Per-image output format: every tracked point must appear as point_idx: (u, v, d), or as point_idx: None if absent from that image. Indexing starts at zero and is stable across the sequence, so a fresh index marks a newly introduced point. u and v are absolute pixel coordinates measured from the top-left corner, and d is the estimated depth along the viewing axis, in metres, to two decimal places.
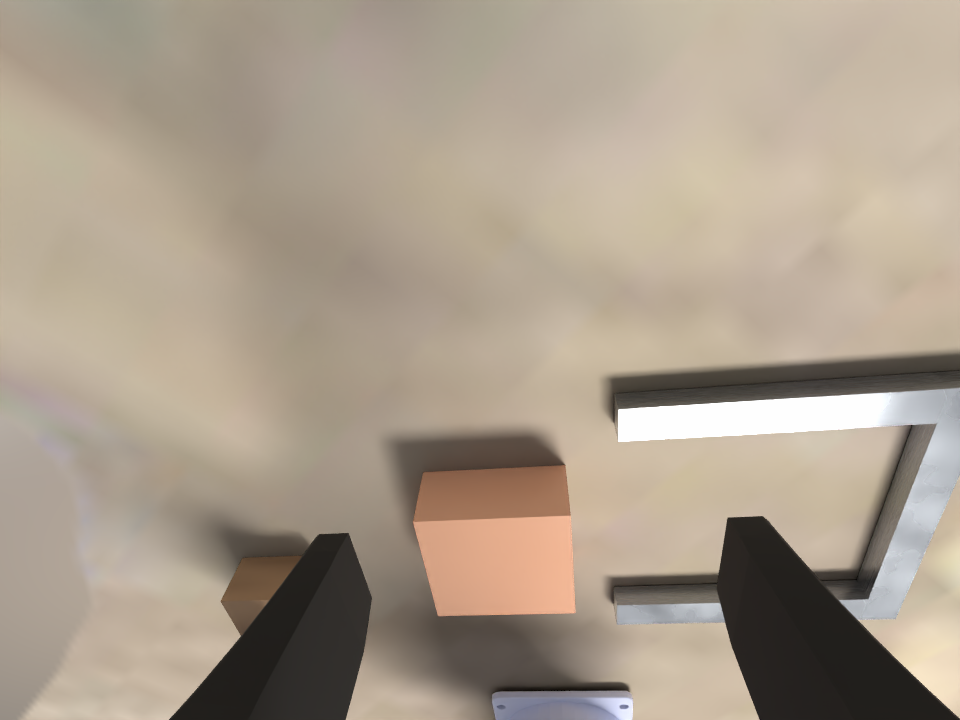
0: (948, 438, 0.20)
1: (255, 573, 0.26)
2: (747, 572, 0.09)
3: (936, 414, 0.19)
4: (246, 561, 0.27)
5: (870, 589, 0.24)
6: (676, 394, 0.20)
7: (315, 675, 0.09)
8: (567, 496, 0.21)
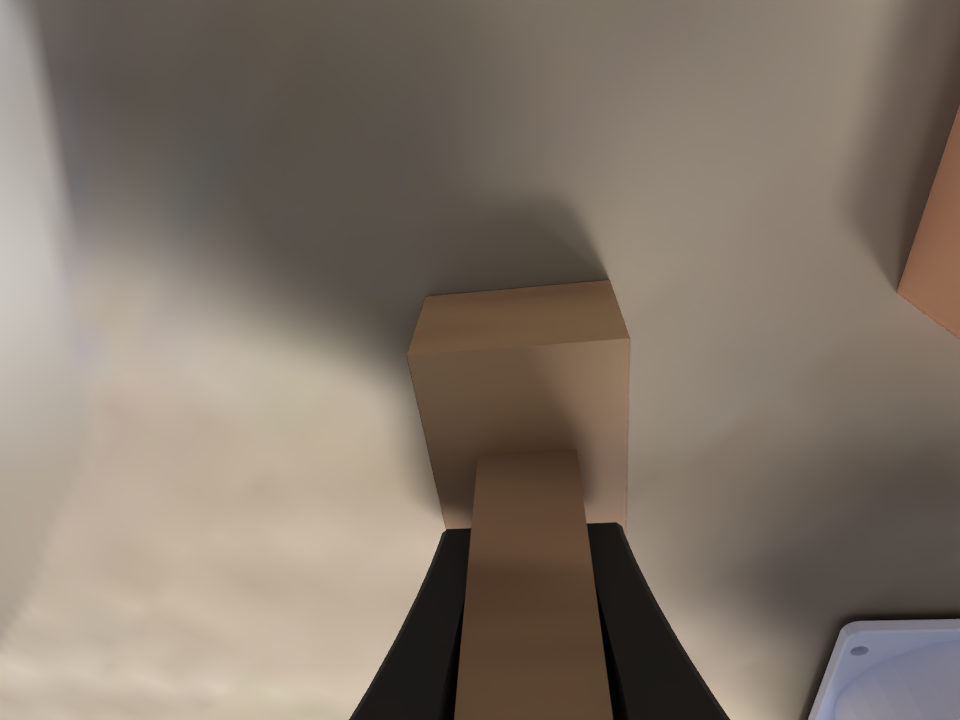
0: None
1: (469, 314, 0.11)
2: None
3: None
4: (437, 301, 0.12)
5: None
6: None
7: None
8: None
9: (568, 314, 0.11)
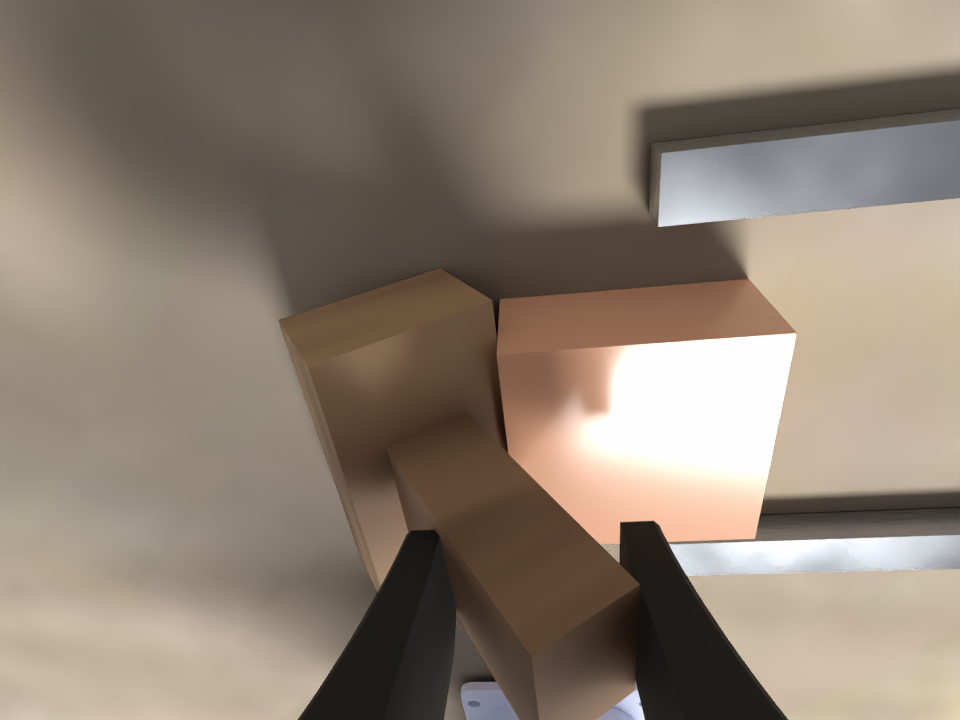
0: None
1: (339, 321, 0.12)
2: None
3: None
4: (296, 320, 0.12)
5: None
6: (765, 133, 0.11)
7: (425, 674, 0.09)
8: (775, 311, 0.12)
9: (429, 298, 0.12)
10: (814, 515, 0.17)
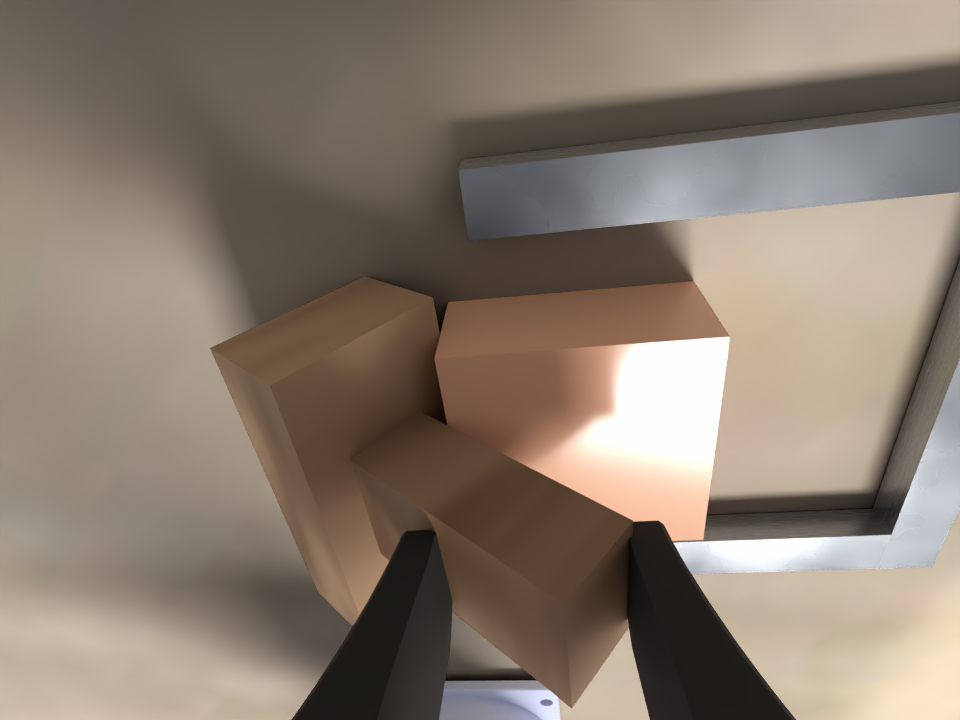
0: None
1: (281, 338, 0.11)
2: (635, 575, 0.09)
3: None
4: (231, 345, 0.11)
5: (895, 518, 0.16)
6: (565, 150, 0.12)
7: (419, 674, 0.09)
8: (713, 314, 0.12)
9: (368, 304, 0.12)
10: None
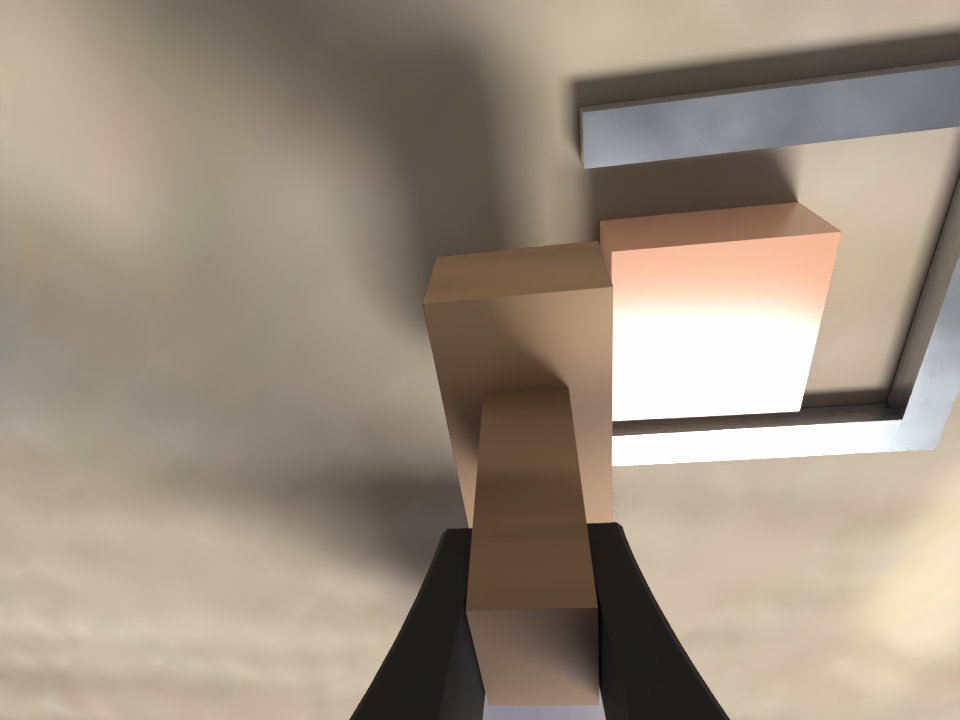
0: None
1: (476, 270, 0.13)
2: None
3: None
4: (447, 260, 0.14)
5: (905, 405, 0.20)
6: (660, 98, 0.15)
7: (468, 673, 0.09)
8: (823, 220, 0.16)
9: (561, 269, 0.12)
10: None
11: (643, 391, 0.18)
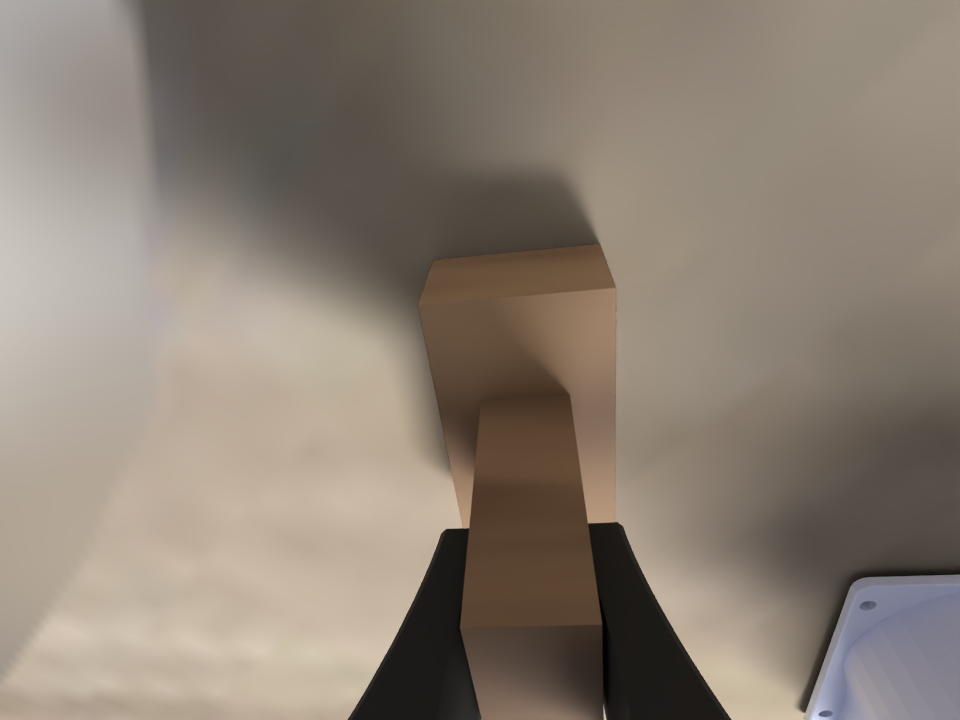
0: None
1: (473, 273, 0.12)
2: None
3: None
4: (444, 263, 0.13)
5: None
6: None
7: (466, 673, 0.09)
8: None
9: (562, 270, 0.12)
10: None
11: None
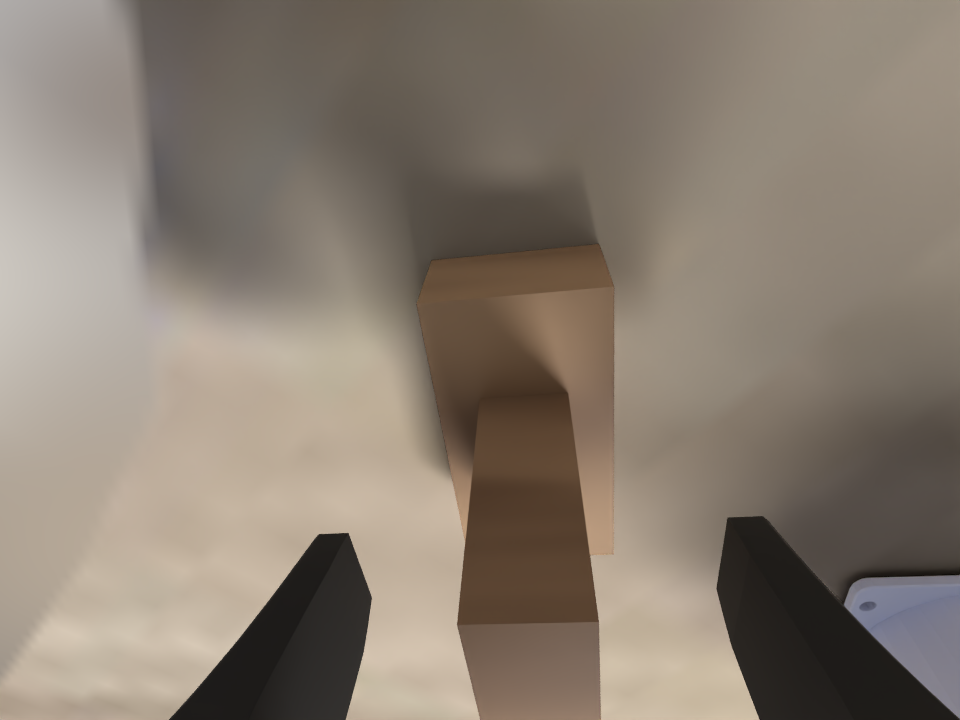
0: None
1: (472, 271, 0.12)
2: (747, 572, 0.09)
3: None
4: (443, 262, 0.13)
5: None
6: None
7: (315, 675, 0.09)
8: None
9: (560, 269, 0.12)
10: None
11: None
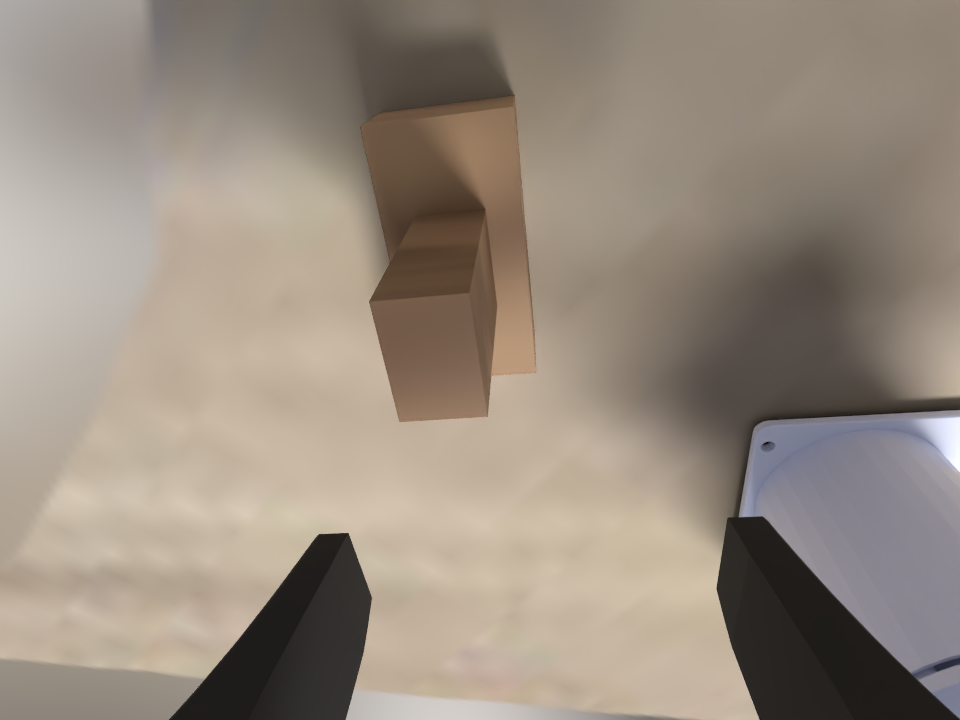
0: None
1: (409, 112, 0.15)
2: (747, 572, 0.09)
3: None
4: (388, 112, 0.16)
5: None
6: None
7: (315, 675, 0.09)
8: None
9: (477, 106, 0.15)
10: None
11: None
